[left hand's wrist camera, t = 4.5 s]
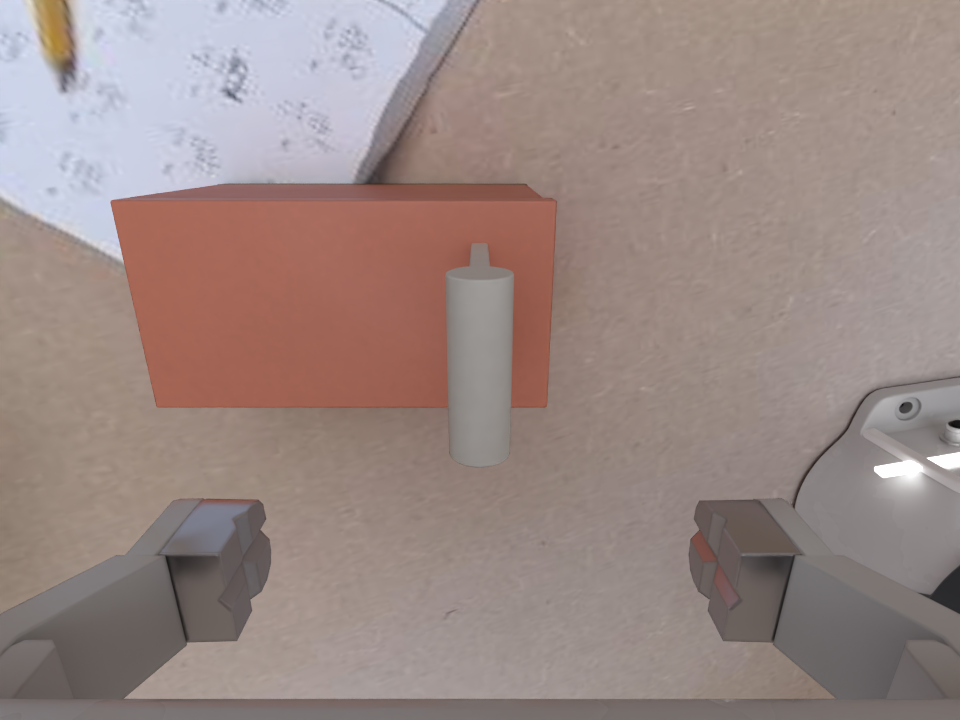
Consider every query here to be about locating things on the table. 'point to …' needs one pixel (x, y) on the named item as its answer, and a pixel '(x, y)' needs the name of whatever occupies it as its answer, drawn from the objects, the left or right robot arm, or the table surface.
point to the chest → (353, 191)
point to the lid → (347, 305)
